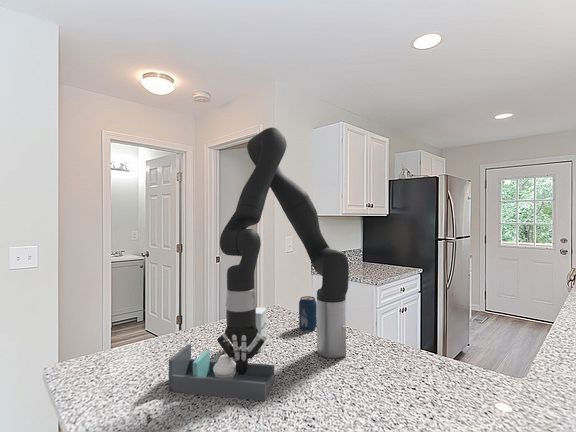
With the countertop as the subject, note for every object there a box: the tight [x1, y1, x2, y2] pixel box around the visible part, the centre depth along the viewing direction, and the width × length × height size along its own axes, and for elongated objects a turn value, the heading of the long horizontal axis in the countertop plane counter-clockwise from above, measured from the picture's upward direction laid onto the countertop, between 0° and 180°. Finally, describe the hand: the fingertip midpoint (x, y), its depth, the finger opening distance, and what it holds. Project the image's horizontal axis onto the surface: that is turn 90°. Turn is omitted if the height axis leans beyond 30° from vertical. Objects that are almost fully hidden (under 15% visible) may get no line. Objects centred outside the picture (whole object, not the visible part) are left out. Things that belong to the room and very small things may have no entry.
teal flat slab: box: [193, 349, 211, 377], centre depth 85 cm, size 1×8×6 cm, turn 170°
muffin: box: [213, 353, 236, 379], centre depth 84 cm, size 6×6×7 cm
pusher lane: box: [168, 343, 275, 402], centre depth 83 cm, size 25×10×8 cm, turn 80°
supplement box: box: [249, 307, 267, 353], centre depth 108 cm, size 7×7×13 cm
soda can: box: [298, 295, 317, 332], centre depth 126 cm, size 7×7×12 cm
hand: (242, 373), depth 82 cm, fingers closed
